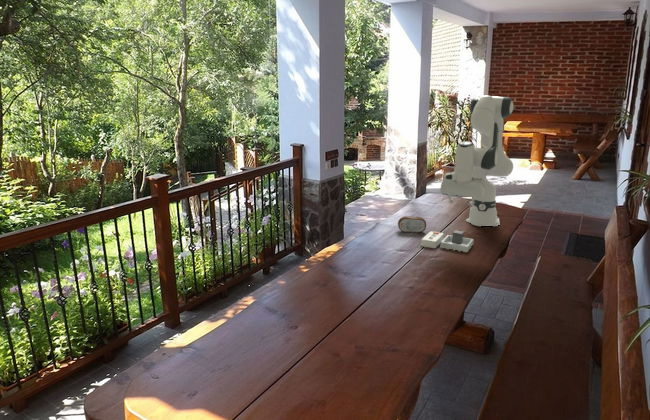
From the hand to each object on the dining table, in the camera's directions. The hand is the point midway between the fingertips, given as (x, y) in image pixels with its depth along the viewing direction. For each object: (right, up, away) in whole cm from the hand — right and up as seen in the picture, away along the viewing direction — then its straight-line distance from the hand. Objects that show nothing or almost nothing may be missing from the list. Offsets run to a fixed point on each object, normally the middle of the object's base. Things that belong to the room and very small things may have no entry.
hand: (460, 204), depth 238 cm
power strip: (-10, -19, +12) cm, 24 cm away
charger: (-1, -20, +4) cm, 21 cm away
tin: (-19, -15, +26) cm, 36 cm away
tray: (-1, -21, +5) cm, 21 cm away
